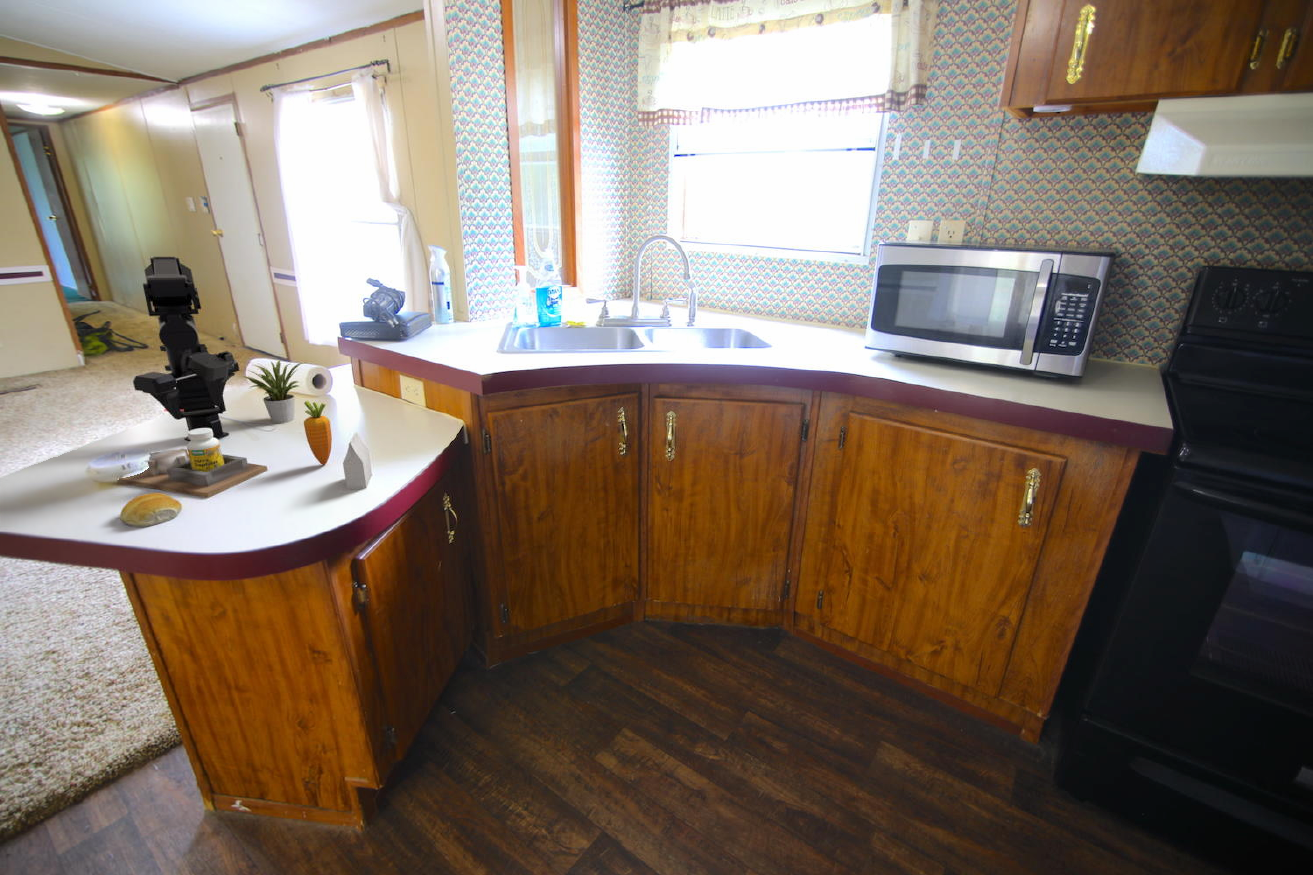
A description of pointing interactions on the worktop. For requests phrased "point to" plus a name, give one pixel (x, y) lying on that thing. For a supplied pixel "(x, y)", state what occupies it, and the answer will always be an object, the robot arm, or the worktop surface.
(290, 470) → the worktop surface
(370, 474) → the gray house shaped block
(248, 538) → the worktop surface
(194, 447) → the supplement bottle
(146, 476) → the carrier plate
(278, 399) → the house plant
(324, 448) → the carrot
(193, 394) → the robot arm
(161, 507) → the bread roll
